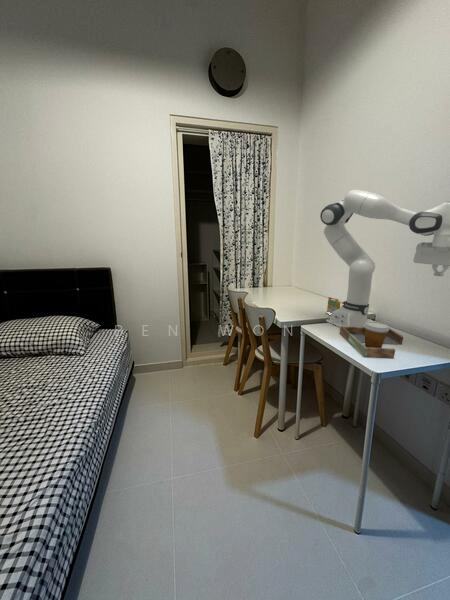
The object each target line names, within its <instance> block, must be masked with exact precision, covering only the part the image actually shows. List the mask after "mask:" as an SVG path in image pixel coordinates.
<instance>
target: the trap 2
mask: <svg viewBox="0 0 450 600" xmlns="http://www.w3.org/2000/svg"><path fill="white" fill-rule="evenodd" d="M383 345H396V346H398V345H399V343H397V342H396V341H394V340H393V339H391V338H390V337H388V336H386V337H385V340H384V343H383Z"/></svg>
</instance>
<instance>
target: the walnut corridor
mask: <svg viewBox="0 0 450 600" xmlns="http://www.w3.org/2000/svg"><path fill="white" fill-rule="evenodd" d="M388 329H389V331H388V332H387V334H386V336H388V337H390V338H391V339H393V340H394V341H396V342H397V343H399V345H401V346H402V345H403V342H404V336H403V335H401V334H400V333H398V332H396V331H394V330H393V329H391V328H390V327H388ZM339 334H340V336H341V337H343V339H345V341H347V342H348V344H349V345H351V347H353V349H355V350H356V352H358V353H359V355H361V356H362V357H363V358H373V359H375V358H376V359H377V358H378V359H395V355H396V354H395V353H396V349H395V348H387V347H382V348H371V347H366V346H365V344H364V343H361V342H360V341H359V340H358V339H357V338H355V337H354V336H353V335H352V334H357V335H365V327H345V326H340V327H339Z"/></svg>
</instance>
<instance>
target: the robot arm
mask: <svg viewBox="0 0 450 600" xmlns="http://www.w3.org/2000/svg"><path fill="white" fill-rule="evenodd" d="M354 214H355V215H359V216H361V217H363V218H364V217H365V218H369V219H375V220H386V221H388V220H390V221H394V222H397V223H399V224H402V225H405V226H408V228H409V229H410V231H411V232H413V233H414V234H416V235H421V236H424V237H426V236H427V237H429V236H431V235H432V236H433V237H432V241H431V242H429V241H428V242H426V241H425V242H420V243H418V244H417V245H416V246H415V253H414V256H413V259H412V260H413V263H414V264H421V265H422V264H423V265H432V266H431V268H432V270H433V276H434V277H435V276H436V277H444V273H445V272H446V271H447V270H449V268H450V201H444V202H443V203H441V204H438V205H437V206H435V207H432V208H429V209H427V210H423V211H420V212H419V211H418V212H415V211H413V210H409V209H406V208H403V207H401V206H398V205H397V204H395V203H393V202H392V201H390V200H388V199H387V198H386V197H384V196H382V195H380V194H378V193H375V192H372V191H367V190H363V189H351V190H350V191H348V192H347V193H346V195H345V196H344V198H343V199H341V200H338V201H334V202H333V203H330V204H328V205H326V206H325V207H324V208H322V209H321V212H320V214H319V215H320V221H321V222H322V223H323V224H324V225H325V227H324V229H323V234H324V237H325V239H326V240H327V242H328V244H329V245H330V246H331V247H332V249H333V250H334V251H335V253H337V255H338V256H339V258H340V259H341V260H342V261H344V262H345V264H346V265H348V267H349V269H348V270H349V271H348V282H347V283H348V287H347V288H348V289H347V295H346V300H344V301H342V302H341V305H342V306H340V308H339V309H337V310H335V311H333V312H332V314H331V315H330V317H331V318H330V317H329V318H330V320H325V321H326V322H327V323H329V324H331V325H333V324H334V325H333V326H335V325H336V327H339V328H340V326H345V327H365V326H364V325H365V324H366V322H368V314H369V307H370V304H369V302H370V296H371V291H372V289H371V288H372V281H373V273H374V272H375V269H376V263H375V262H374V260H373V259H372V257H370V255H369V254H368V253H367V252H366V250H364V248H362V247H361V245H360V244H359V243H358V241H356V240H355V238H354V236H352V234H351V233H350V232H349V231H348V230H347V228H346V226H345V224H347V223H348V222H349V221H350V219H351V217H353V215H354ZM439 266H442V267H441V268H442V270H440V271H439V270H438V268H439Z"/></svg>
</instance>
